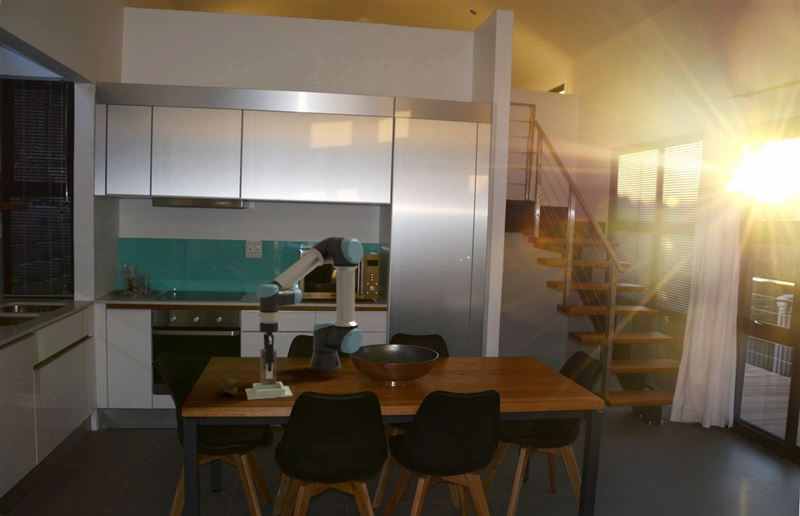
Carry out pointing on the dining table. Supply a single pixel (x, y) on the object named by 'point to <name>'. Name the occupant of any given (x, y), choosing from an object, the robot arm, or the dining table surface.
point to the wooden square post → (263, 368)
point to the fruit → (229, 386)
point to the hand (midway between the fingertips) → (268, 376)
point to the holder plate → (268, 391)
